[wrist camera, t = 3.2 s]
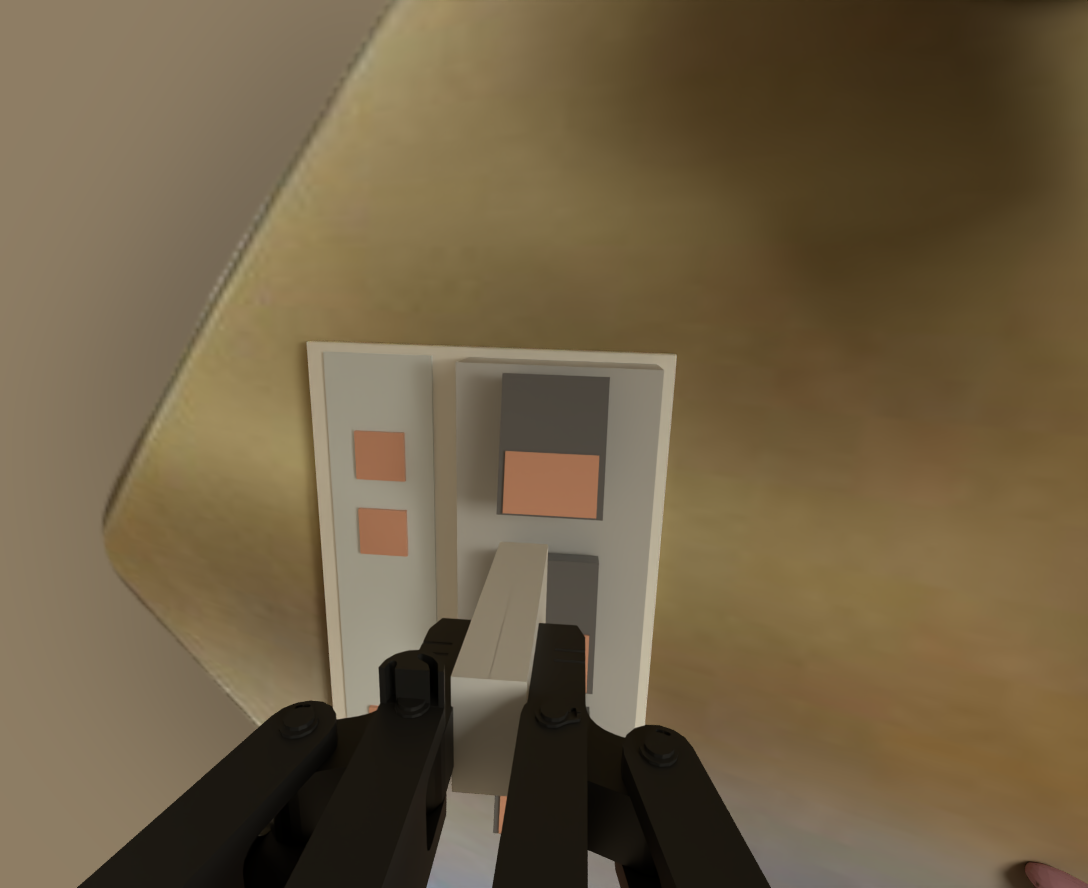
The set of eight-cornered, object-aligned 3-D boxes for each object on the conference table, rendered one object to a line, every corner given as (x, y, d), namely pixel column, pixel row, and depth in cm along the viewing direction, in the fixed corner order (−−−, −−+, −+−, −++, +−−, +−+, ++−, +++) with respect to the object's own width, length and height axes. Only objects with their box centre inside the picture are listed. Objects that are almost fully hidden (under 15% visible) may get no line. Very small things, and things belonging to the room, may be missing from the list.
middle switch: (505, 550, 29) (499, 557, 27) (598, 555, 28) (599, 564, 26) (499, 672, 29) (494, 687, 27) (592, 679, 28) (592, 695, 27)
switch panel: (315, 340, 31) (276, 345, 27) (674, 353, 30) (686, 360, 26) (342, 729, 37) (313, 778, 34) (639, 756, 36) (645, 810, 32)
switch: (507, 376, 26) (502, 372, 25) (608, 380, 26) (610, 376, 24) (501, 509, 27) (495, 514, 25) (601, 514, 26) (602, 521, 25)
